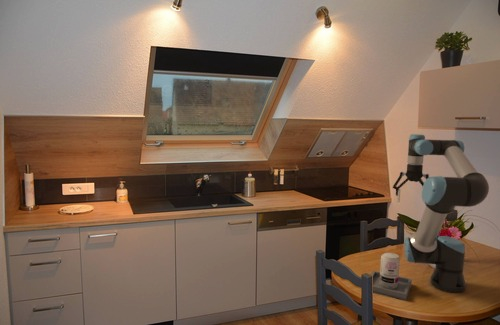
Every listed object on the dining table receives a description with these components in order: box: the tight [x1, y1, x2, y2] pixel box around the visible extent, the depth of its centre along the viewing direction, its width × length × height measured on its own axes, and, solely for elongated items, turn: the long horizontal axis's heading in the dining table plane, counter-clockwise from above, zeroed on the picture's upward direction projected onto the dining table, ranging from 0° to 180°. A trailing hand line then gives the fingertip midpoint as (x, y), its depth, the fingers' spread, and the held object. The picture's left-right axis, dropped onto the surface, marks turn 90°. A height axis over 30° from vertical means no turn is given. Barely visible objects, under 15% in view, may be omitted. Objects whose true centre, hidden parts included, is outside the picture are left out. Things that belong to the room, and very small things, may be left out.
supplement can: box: [379, 252, 401, 289], centre depth 174 cm, size 8×8×15 cm
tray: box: [370, 270, 413, 302], centre depth 175 cm, size 18×18×3 cm
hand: (412, 203), depth 197 cm, fingers open, 13 cm apart
